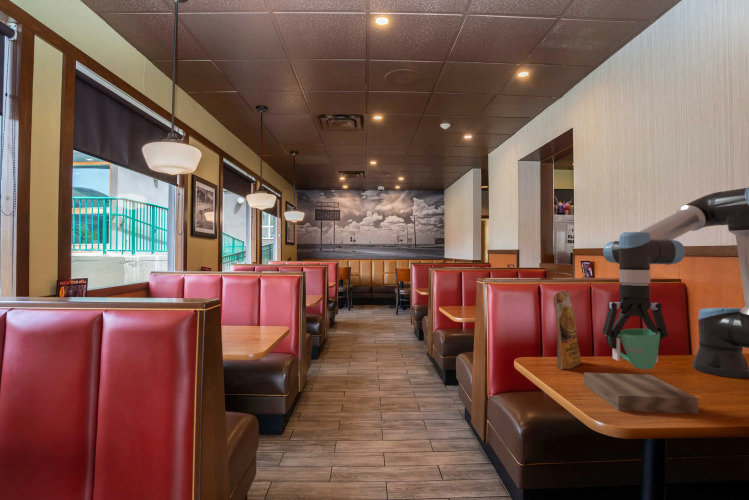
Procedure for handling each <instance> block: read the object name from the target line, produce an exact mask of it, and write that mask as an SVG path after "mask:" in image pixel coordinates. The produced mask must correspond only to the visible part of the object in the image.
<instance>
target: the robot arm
mask: <svg viewBox="0 0 749 500" xmlns="http://www.w3.org/2000/svg"><path fill="white" fill-rule="evenodd" d="M714 226H727V228H728V232H729V233H730V234H733V235H734V236H735V241H736V248H737V255H738V263H739V269H740V270H739V271H740V277H741V283H742V284H741V285H742V290H743V291H742V292H743V297H744V307H742V308H741V307H705V308H700V309H699V311H698V318H697V321H698V349H697V350H696V354H695V357H694V359H693V361H692V368H693V369H694V370H696V371H699V372H702V373H705V374H709V375H713V376H714V375H715V376H719V377H727V378H736V379H737V378H738V379H740V378H741V379H744V378H749V365H748V362H747V359H746V357H745V355H744V352H743V348H746V349H749V186H748V187H744V188H737V189H729V190H725V191H724V190H723V191H717V192H713V193H709V194H707V195H704V196H701V197H699V198H697V199H695V200H692V201H690V202H688V203H685V204H684V205H682V206H680V207H679V208H678V209H677V210H676V211H675V213H673V214H671V215H669V216H668V217H665V218H663V219H661V220H659V221H658V222H655V223H653V224H651V225H650V226H648V227H646V228H644V229H641V230H640V231H627V232H622V233H621V234H620V235H619V239H618V240H614V241H609V242H607V243H605V245H604V247H603V249H602V254H603V257H604V260H605V261H607V262H609V263H612V264H619V267H618V268H619V269H618V270H619V271H618V273H619V275H618V281H619V283H620V284H619V285H618V290H619V291H618V292H619V293H618V295H619V300H618V301H617V302H616V301H615V302H612V301H608V303H607V307H608V310H607V313H606V314H607V315H606V317H605V321H604V324H603V329H602V334H603V335H605V336H606V335H608V336H609V337H610V347H611V348H613V350H612V359H613V360H615V361H617V362H620V361H621V357H620V351H621V339H620V337H618V335H619V333H620V331H621V330H623V328H624V326H625V324H626V323H627V322H628V319H630V318H631V317H635V316H636V317H640V318H641V320H642V321H643V323H644V325H645V327H646V329H650V330H651V331H652V332H653V333H655V332H654V330H655V331H656V334H657V331H658V332H660V340H659V348H658V351H660V350H661V341H662V340H664V338H667V337H668V336H669V333H668V329H667V327H666V323H665V318H664V316H663V313H662V312H663V311H662V308H663V304H661V303H658V302H651V301H650V300H651V299H650V298H651V286H650V285H649V284H650V283H651V265H669V266H670V265H675V264H678V263H681V262H682V260H683V259H684V257H685V256H686V249H685V246H684V245H683V244H682V243H681V242H680V241H679V240H676V239H677V238H679V237H681V236H683V235H684V234H686V233H688V232H690V231H693V232H695V231H699V230H701V229H703V228H707V227H714ZM619 308H620V309H621V310H620V312H619V313H618V310H619ZM649 309H650V310H651V313H652V317H653V319H652V318H651V314H650V313H649V311H648V310H649ZM617 314H618V316H617ZM616 317H617V319H616ZM653 320H654V321H653ZM610 347H609V348H610ZM611 348H610V349H611ZM658 362H659V354H658V355H657V359H656V362H655V363H658Z"/></svg>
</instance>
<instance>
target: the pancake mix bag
mask: <svg viewBox="0 0 749 500" xmlns="http://www.w3.org/2000/svg"><path fill="white" fill-rule="evenodd" d="M553 307H554V313H555V322H556V323H555V324H556V328H557V352H556V353H557V354H556V355H557V361H556V363H557V364H556V365H557V366H556V367H557V368H558V369H559V370H571V369H573V368H575V367H577V366H579V365H581V364H582V363H581V362H582V359H581V353H580V348H579V342H578V334H577V326H576V319H575V318H576V316H575V313H574V308H573V305H572V302H571V298H570V293H569V291H560V292H557V293H555V295H554V296H553Z"/></svg>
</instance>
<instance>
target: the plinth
mask: <svg viewBox="0 0 749 500" xmlns="http://www.w3.org/2000/svg"><path fill="white" fill-rule="evenodd" d="M583 385H584V386H585V388H588V389H589V390H590V391H591V392H593V393H595V394H596V395H597V396H598V397H600V398H601V399H602V400H604V402H606V403H607V404H609V405H611V406H612V407H613V408H615V409H616V410H617V411H619V412H621V411H624V412H642V413H643V412H645V413H647V412H648V413H670V414H672V413H673V414H674V413H675V414H697V415H698V414H699V398H698V397H696V396H694V395H692V394H690V393H688V392H685V391H684V390H681V389H680V388H678V387H676V386H673V384H672V385H671V384H669V383H668V382H665V381H663V380H662V379H660V378H658V377H656V376H653V375H651V374H639V373H636V374H635V373H607V372H604V373H603V372H583Z"/></svg>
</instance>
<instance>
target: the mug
mask: <svg viewBox="0 0 749 500" xmlns="http://www.w3.org/2000/svg"><path fill="white" fill-rule="evenodd" d="M654 332H655V333H653V332H652V331H651V330H650V329H648V328H626V329H621V331H620V333H619V335H618V336H617V338H620V343H621V344H622V347H623V350H624V352H625V353H626V354H625V353H623V351H621V350H620V359H621V358H622V359H623V360H624V361H626V362H629V363H630V364H631V365H632V367H633V368H635V369H639V370H653V369H654V368H655V365H656V363H657V362H656V359H657V355H658V356H659V350H658V348H659V340H660V332H658V331H657V334H656V331H655V330H654ZM605 339H606V343H607V346H609V348H610V349H612V351H613V348H611V347H610V337H609V336H608V335H605ZM660 341H661V340H660Z"/></svg>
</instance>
